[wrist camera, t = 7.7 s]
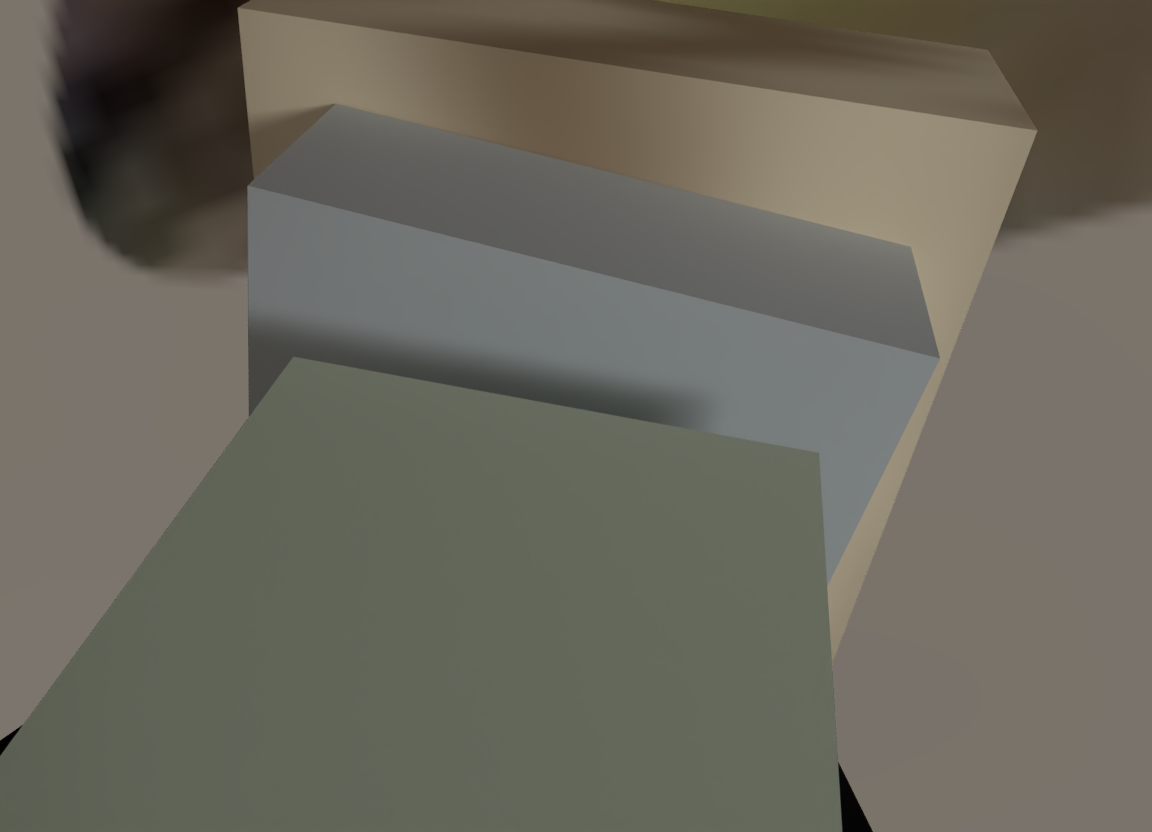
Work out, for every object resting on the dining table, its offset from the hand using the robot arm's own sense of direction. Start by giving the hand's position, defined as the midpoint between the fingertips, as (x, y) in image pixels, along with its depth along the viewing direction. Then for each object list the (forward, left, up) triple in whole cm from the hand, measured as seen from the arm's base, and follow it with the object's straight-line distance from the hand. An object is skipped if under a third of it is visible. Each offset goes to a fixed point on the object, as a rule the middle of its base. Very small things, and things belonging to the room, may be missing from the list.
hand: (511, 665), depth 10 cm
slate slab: (0, 0, -5) cm, 5 cm away
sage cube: (0, 0, -1) cm, 1 cm away
